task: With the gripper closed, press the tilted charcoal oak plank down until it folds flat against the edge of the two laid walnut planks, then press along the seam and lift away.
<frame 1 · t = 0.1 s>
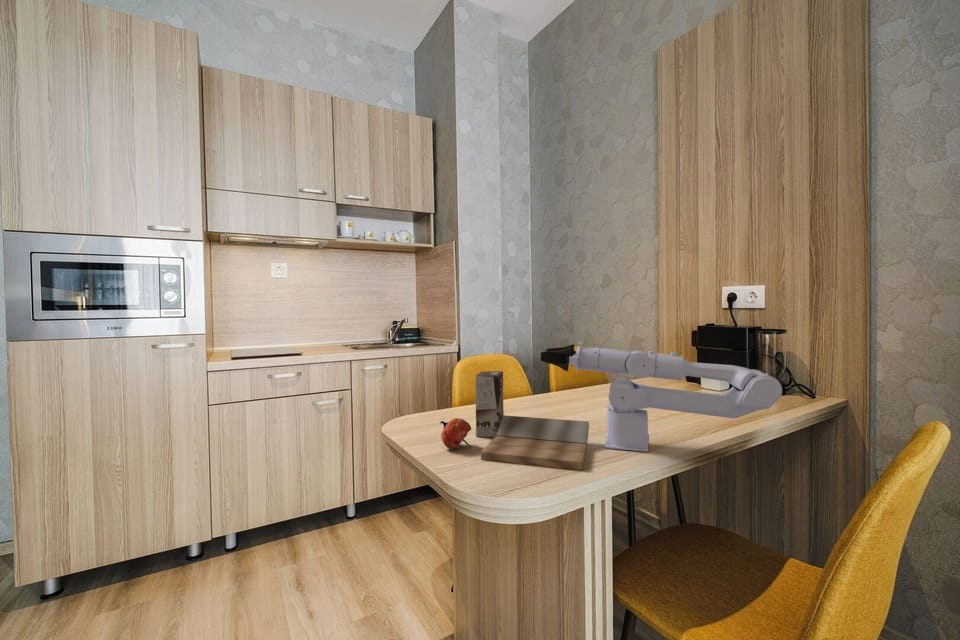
hand: (543, 354, 108), 22 cm above the table, tool horizontal, fingers open, 7 cm apart
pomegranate: (457, 448, 103), on the table
charcoal plank: (542, 430, 106), point 3 cm above the table, hinge at 30.0°
coffee box: (490, 433, 115), on the table
laid planks: (534, 455, 97), on the table
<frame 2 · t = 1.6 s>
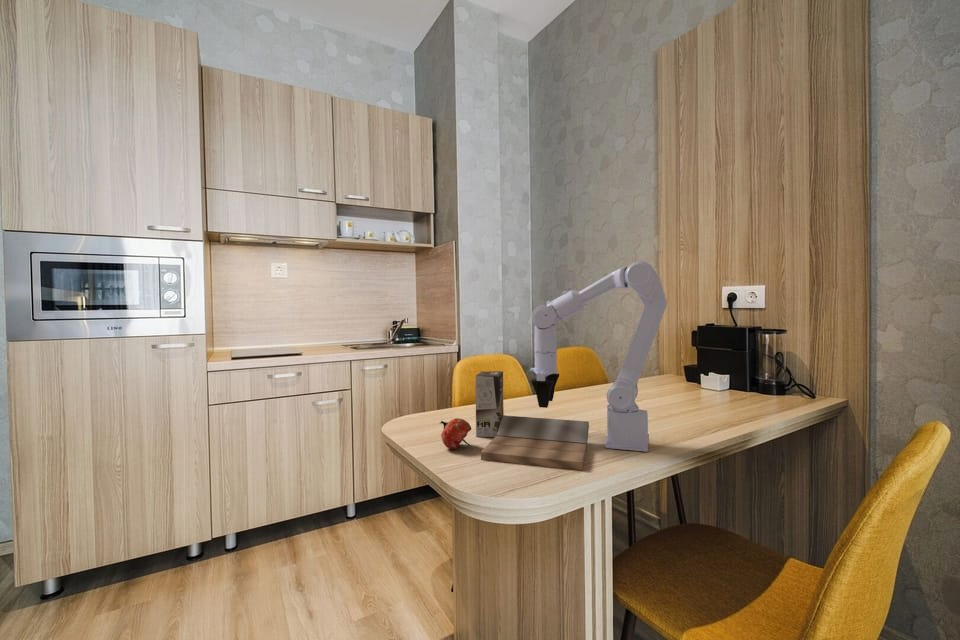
hand: (546, 404, 111), 8 cm above the table, tool pointing down, fingers open, 7 cm apart
nothing on the table moved.
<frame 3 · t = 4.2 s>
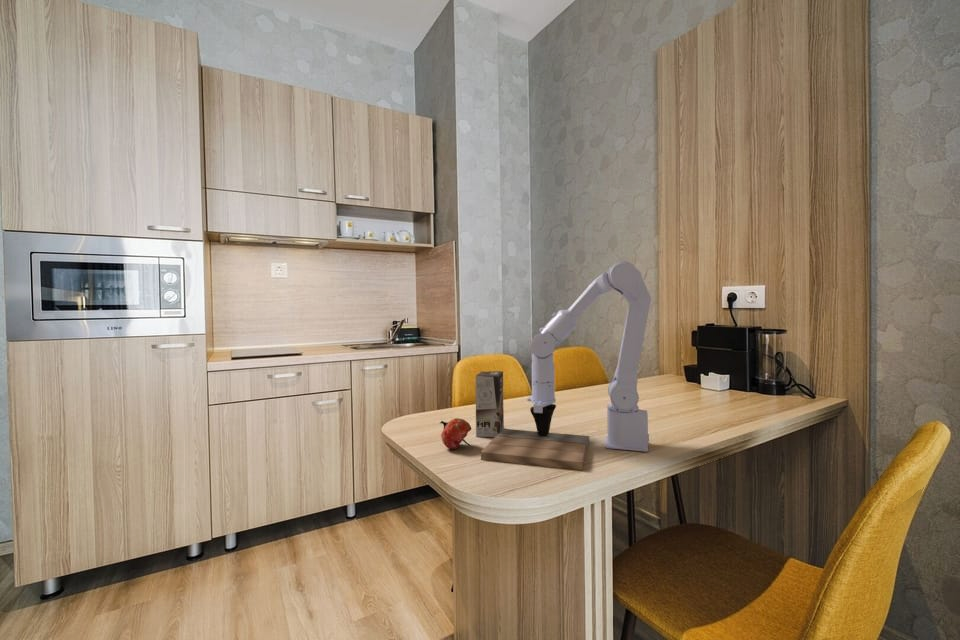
hand: (543, 434, 107), 1 cm above the table, tool pointing down, fingers closed, pressing on charcoal plank
charcoal plank: (542, 438, 106), point 1 cm above the table, hinge at -2.4°, touching gripper
everything else where it was.
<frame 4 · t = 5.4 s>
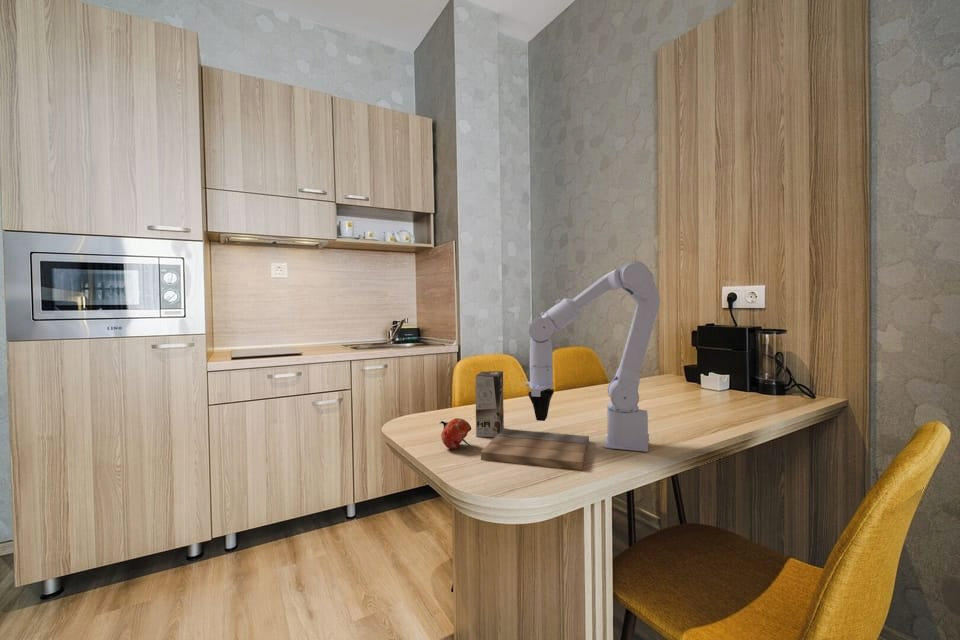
hand: (541, 419, 107), 5 cm above the table, tool pointing down, fingers closed
charcoal plank: (542, 438, 106), point 1 cm above the table, hinge at -2.7°
everything else where it was.
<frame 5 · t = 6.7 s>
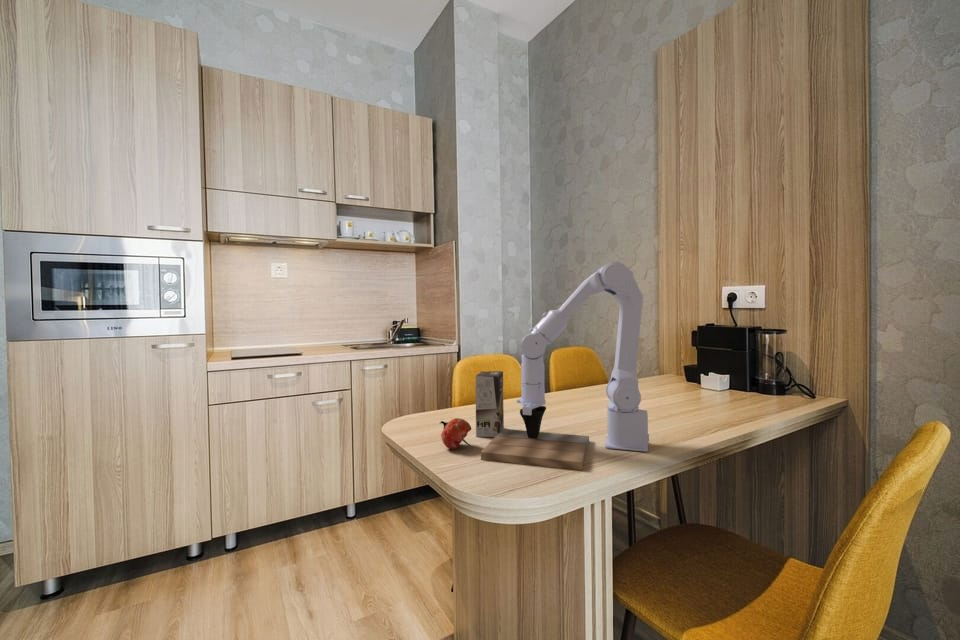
hand: (533, 437, 105), 2 cm above the table, tool pointing down, fingers closed
charcoal plank: (542, 438, 106), point 1 cm above the table, hinge at -2.7°, touching gripper
everything else where it was.
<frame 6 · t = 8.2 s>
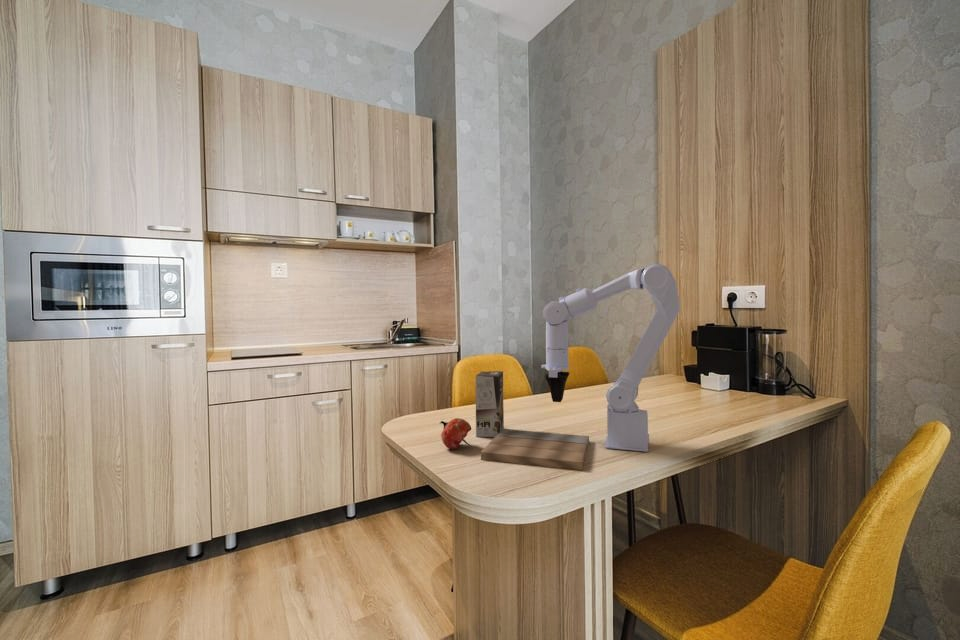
hand: (557, 400, 110), 9 cm above the table, tool pointing down, fingers closed
charcoal plank: (542, 438, 106), point 1 cm above the table, hinge at -2.7°
everything else where it was.
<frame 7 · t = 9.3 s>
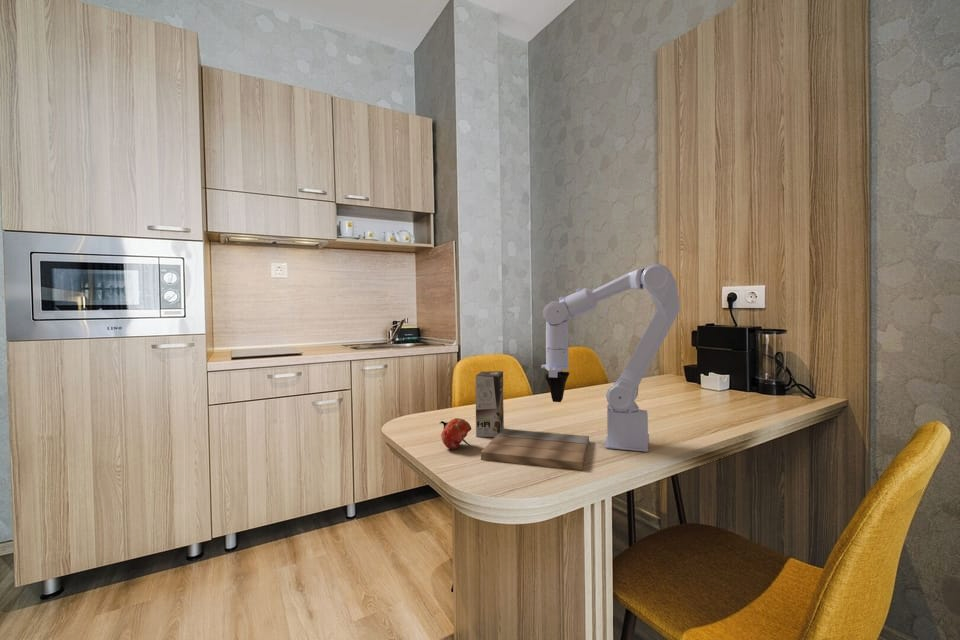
hand: (557, 400, 110), 9 cm above the table, tool pointing down, fingers closed
nothing on the table moved.
at the end: charcoal plank at -3° (first picture: +30°); coffee box moved 0.2 cm from its start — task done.
